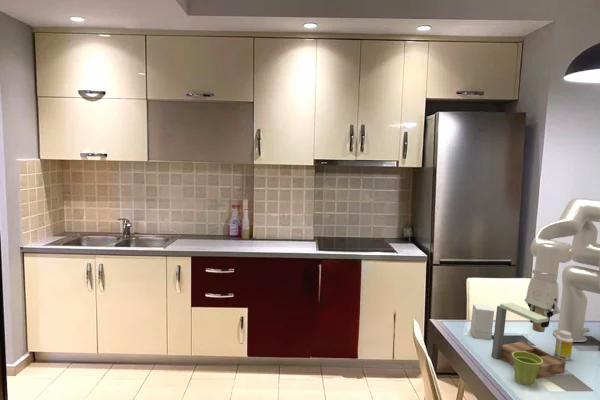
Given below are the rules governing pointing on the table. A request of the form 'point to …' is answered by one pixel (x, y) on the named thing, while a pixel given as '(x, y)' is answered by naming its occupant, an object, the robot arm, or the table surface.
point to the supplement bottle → (563, 345)
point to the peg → (537, 326)
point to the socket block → (550, 362)
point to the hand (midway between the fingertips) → (539, 324)
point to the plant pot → (526, 367)
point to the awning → (501, 324)
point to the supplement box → (482, 321)
